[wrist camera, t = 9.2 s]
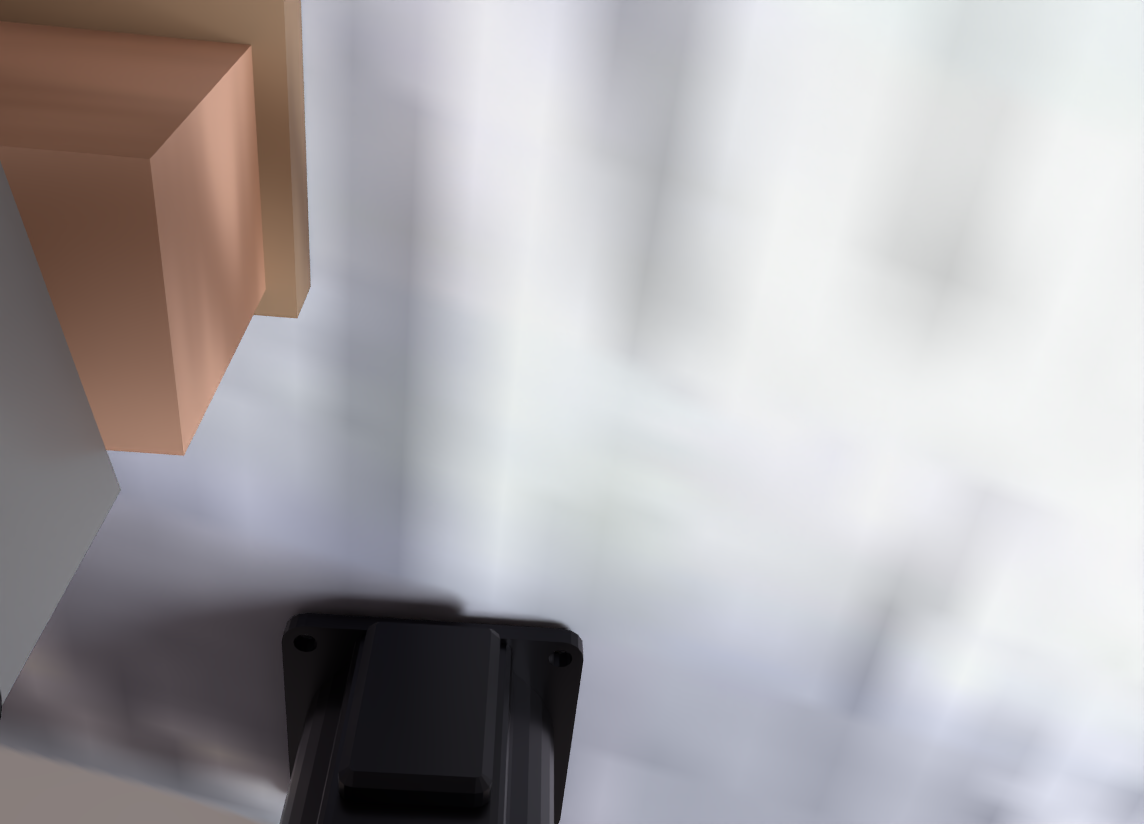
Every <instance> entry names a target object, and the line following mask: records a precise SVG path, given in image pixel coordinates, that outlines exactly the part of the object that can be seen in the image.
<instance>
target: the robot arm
mask: <svg viewBox="0 0 1144 824" xmlns="http://www.w3.org/2000/svg"><path fill="white" fill-rule="evenodd" d="M301 635H309V636H312V637H313V638H312V639H308V638H304V637H302V636H301ZM559 650H563V651H567V652H566V653H563V654H558V653H554V652H555V651H559ZM282 653H283V669H284V685H285V701H286V717H287V733H288V749H289V765H290V784H289V788H288V792H287V796H286V800H285V804H284V808H283V812H282V816H281V820H280V824H558V823H559V821H560V817H561V810H562V803H563V796H564V789H565V783H566V776H567V769H568V762H569V755H570V748H571V741H572V735H573V728H574V721H575V714H576V707H577V700H578V693H579V687H580V680H581V673H582V666H583V644H582V640H581V638H580V637H579V636H578V635H577V634H576V633H574V632H572V631H570V630H565V629H554V628H538V627H522V626H506V625H490V624H474V623H458V622H441V621H425V620H409V619H393V618H377V617H361V616H345V615H329V614H312V613H305V614H298V615H296V616H293V617H292V618H291V619H290V620H289V621H288V622H287V624H286V628H285V631H284V635H283V639H282ZM1 711H2V697H1V691H0V718H1Z"/></svg>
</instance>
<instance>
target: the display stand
mask: <svg viewBox="0 0 1144 824" xmlns="http://www.w3.org/2000/svg"><path fill="white" fill-rule="evenodd" d="M0 161H1V164H2V167H3V170H4V172H5V175H6V178H7V180H8V183H9V186H10V189H11V191H12V194H13V197H14V200H15V202H16V205H17V208H18V210H19V213H20V216H21V219H22V221H23V224H24V227H25V230H26V232H27V235H28V238H29V241H30V243H31V246H32V249H33V251H34V254H35V257H36V260H37V262H38V265H39V268H40V271H41V273H42V276H43V279H44V281H45V284H46V287H47V290H48V292H49V295H50V298H51V301H52V303H53V306H54V309H55V312H56V314H57V317H58V320H59V322H60V325H61V328H62V331H63V333H64V336H65V339H66V342H67V344H68V347H69V350H70V352H71V355H72V358H73V361H74V363H75V366H76V369H77V372H78V374H79V377H80V380H81V383H82V385H83V388H84V391H85V393H86V396H87V399H88V402H89V404H90V407H91V410H92V413H93V415H94V418H95V421H96V423H97V426H98V429H99V432H100V434H101V437H102V440H103V443H104V445H105V448H106V450H113V451H127V452H141V453H155V454H169V455H183V456H184V454H185V452H186V450H187V448H188V446H189V444H190V442H191V440H192V438H193V436H194V434H195V432H196V430H197V428H198V426H199V424H200V422H201V420H202V418H203V416H204V414H205V412H206V410H207V408H208V406H209V404H210V402H211V400H212V398H213V396H214V394H215V392H216V390H217V387H218V385H219V383H220V381H221V379H222V377H223V375H224V373H225V371H226V369H227V367H228V365H229V363H230V361H231V359H232V357H233V355H234V353H235V351H236V349H237V347H238V345H239V343H240V341H241V339H242V337H243V335H244V333H245V331H246V329H247V327H248V325H249V323H250V321H251V318H252V316H253V315H262V316H275V317H287V318H298V315H299V313H300V311H301V308H302V306H303V303H304V301H305V299H306V296H307V294H308V292H309V289H310V287H311V286H310V256H309V227H308V198H307V169H306V140H305V111H304V82H303V53H302V24H301V0H0Z"/></svg>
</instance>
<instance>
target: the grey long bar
mask: <svg viewBox="0 0 1144 824" xmlns="http://www.w3.org/2000/svg"><path fill="white" fill-rule="evenodd" d="M120 491H121V489H120V486H119V484H118V481H117V478H116V475H115V473H114V470H113V467H112V464H111V462H110V459H109V456H108V454H107V451H106V448H105V445H104V443H103V440H102V437H101V434H100V432H99V429H98V426H97V423H96V421H95V418H94V415H93V413H92V410H91V407H90V404H89V402H88V399H87V396H86V393H85V391H84V388H83V385H82V383H81V380H80V377H79V374H78V372H77V369H76V366H75V363H74V361H73V358H72V355H71V352H70V350H69V347H68V344H67V342H66V339H65V336H64V333H63V331H62V328H61V325H60V322H59V320H58V317H57V314H56V312H55V309H54V306H53V303H52V301H51V298H50V295H49V292H48V290H47V287H46V284H45V281H44V279H43V276H42V273H41V271H40V268H39V265H38V262H37V260H36V257H35V254H34V251H33V249H32V246H31V243H30V241H29V238H28V235H27V232H26V230H25V227H24V224H23V221H22V219H21V216H20V213H19V210H18V208H17V205H16V202H15V200H14V197H13V194H12V191H11V189H10V186H9V183H8V180H7V178H6V175H5V172H4V170H3V167H2V164H1V161H0V691H1V697H2V705H3V703H4V701H5V699H6V697H7V696H8V694H9V692H10V690H11V688H12V687H13V685H14V683H15V681H16V679H17V677H18V676H19V674H20V672H21V670H22V668H23V667H24V665H25V663H26V661H27V659H28V658H29V656H30V654H31V652H32V650H33V648H34V647H35V645H36V643H37V641H38V639H39V638H40V636H41V634H42V632H43V630H44V629H45V627H46V625H47V623H48V621H49V619H50V618H51V616H52V614H53V612H54V610H55V609H56V607H57V605H58V603H59V601H60V600H61V598H62V596H63V594H64V592H65V590H66V589H67V587H68V585H69V583H70V581H71V580H72V578H73V576H74V574H75V572H76V570H77V569H78V567H79V565H80V563H81V561H82V560H83V558H84V556H85V554H86V552H87V551H88V549H89V547H90V545H91V543H92V541H93V540H94V538H95V536H96V534H97V532H98V531H99V529H100V527H101V525H102V523H103V522H104V520H105V518H106V516H107V514H108V512H109V511H110V509H111V507H112V505H113V503H114V502H115V500H116V498H117V496H118V494H119V493H120Z"/></svg>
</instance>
